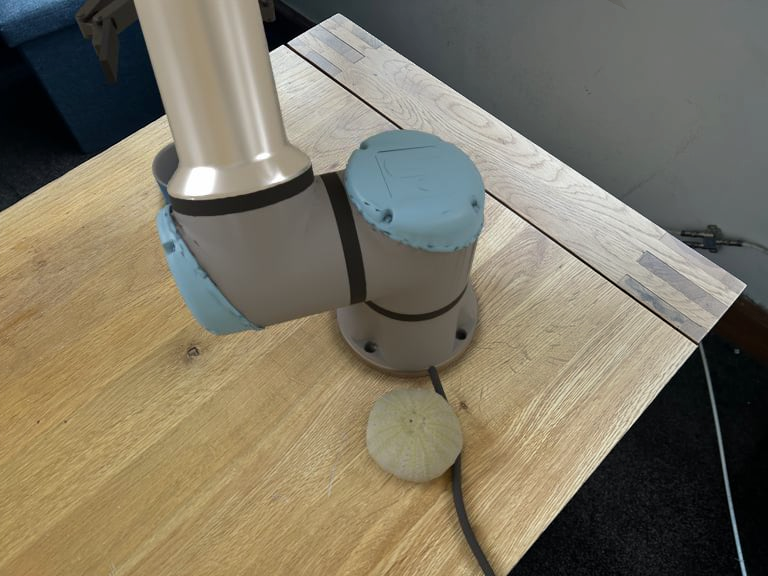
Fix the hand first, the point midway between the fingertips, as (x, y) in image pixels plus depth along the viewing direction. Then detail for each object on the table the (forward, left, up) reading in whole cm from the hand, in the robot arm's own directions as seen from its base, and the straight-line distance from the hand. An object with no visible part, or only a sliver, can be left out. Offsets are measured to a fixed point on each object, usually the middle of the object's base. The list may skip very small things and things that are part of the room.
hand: (178, 65), depth 66 cm
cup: (-10, 0, -19) cm, 21 cm away
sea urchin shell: (-35, -18, -19) cm, 44 cm away
